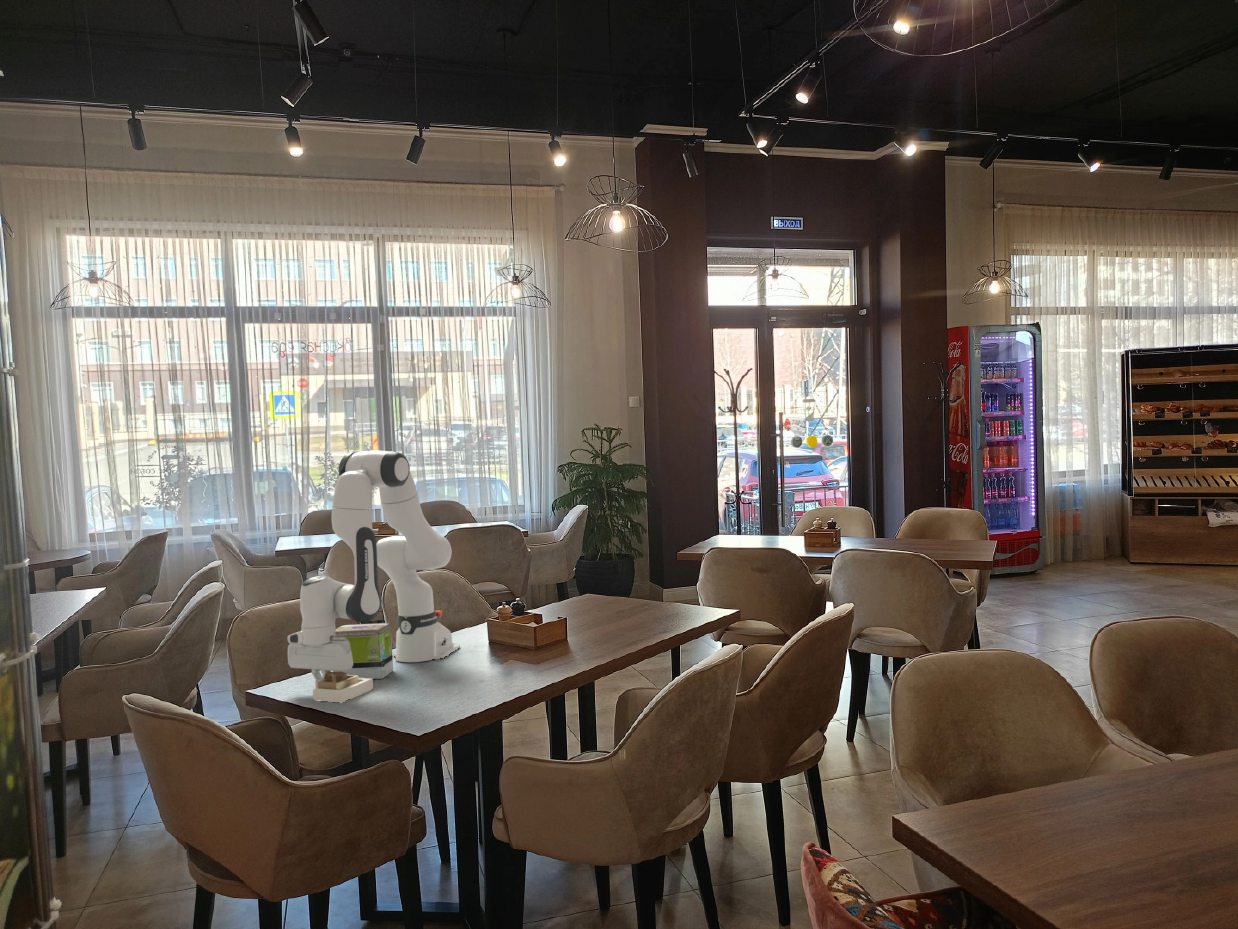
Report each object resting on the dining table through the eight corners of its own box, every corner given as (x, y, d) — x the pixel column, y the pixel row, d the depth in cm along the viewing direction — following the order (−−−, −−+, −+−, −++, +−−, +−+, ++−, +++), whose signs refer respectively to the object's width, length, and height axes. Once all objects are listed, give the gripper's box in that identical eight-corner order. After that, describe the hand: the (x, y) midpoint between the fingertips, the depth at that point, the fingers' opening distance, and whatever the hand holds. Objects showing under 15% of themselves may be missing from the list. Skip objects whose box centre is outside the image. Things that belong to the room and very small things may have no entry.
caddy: (336, 689, 243) (335, 668, 243) (359, 691, 240) (357, 669, 239) (316, 698, 235) (314, 675, 235) (339, 700, 232) (338, 677, 232)
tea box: (394, 670, 261) (391, 622, 261) (381, 680, 251) (378, 629, 251) (346, 672, 262) (343, 623, 262) (332, 681, 252) (329, 631, 252)
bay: (345, 687, 245) (345, 676, 245) (373, 689, 241) (372, 678, 241) (313, 701, 233) (312, 690, 233) (341, 703, 229) (341, 692, 229)
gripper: (356, 634, 238) (359, 684, 239) (299, 631, 246) (301, 679, 247) (341, 639, 232) (344, 690, 233) (282, 636, 240) (285, 685, 241)
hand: (321, 685), depth 240 cm, fingers closed
